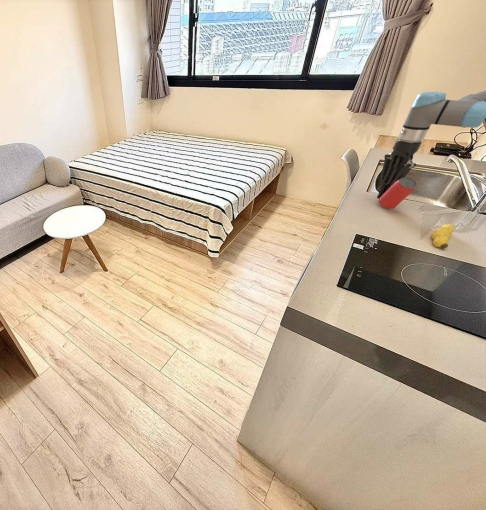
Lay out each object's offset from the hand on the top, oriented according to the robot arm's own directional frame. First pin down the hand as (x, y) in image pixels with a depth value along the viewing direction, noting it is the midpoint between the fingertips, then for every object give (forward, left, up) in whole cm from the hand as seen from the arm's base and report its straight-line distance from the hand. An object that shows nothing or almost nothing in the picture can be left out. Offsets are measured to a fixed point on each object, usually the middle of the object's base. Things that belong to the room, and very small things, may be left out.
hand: (381, 198), depth 117 cm
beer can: (-2, +3, -1) cm, 4 cm away
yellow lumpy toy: (-14, +24, -2) cm, 28 cm away
